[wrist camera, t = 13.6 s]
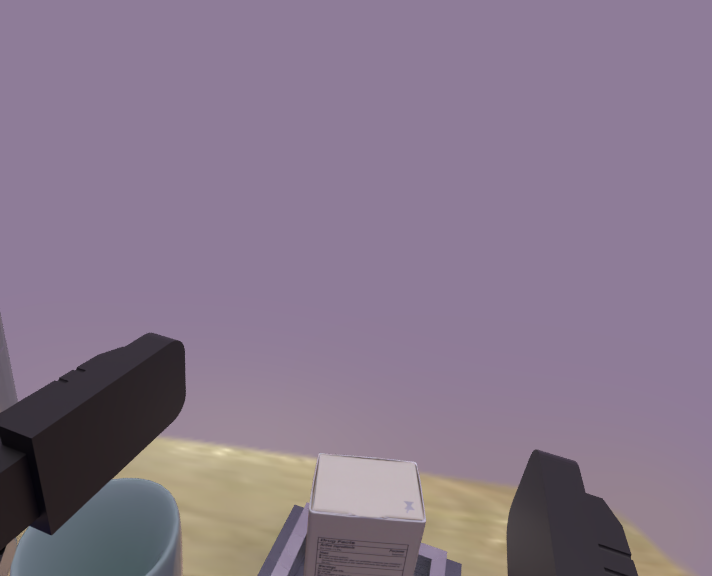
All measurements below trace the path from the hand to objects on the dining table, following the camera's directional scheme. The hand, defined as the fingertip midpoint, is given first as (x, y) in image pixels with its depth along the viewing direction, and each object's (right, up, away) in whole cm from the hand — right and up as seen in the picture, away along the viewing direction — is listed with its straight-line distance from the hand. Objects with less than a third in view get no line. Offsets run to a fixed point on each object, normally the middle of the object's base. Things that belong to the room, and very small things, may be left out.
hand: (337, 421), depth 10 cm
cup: (-14, -19, +17) cm, 29 cm away
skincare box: (0, -19, +19) cm, 27 cm away
